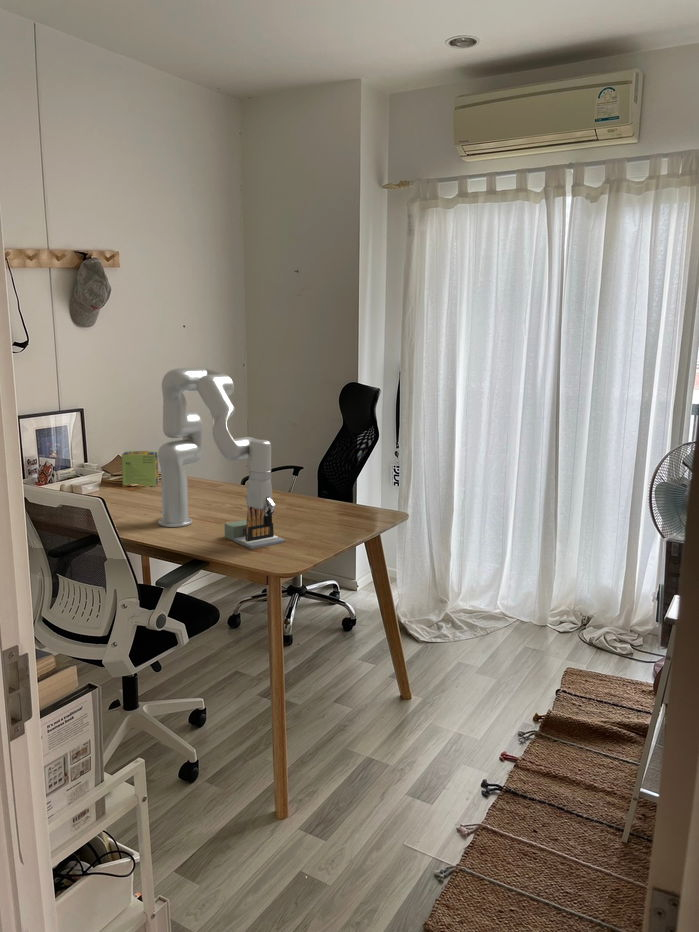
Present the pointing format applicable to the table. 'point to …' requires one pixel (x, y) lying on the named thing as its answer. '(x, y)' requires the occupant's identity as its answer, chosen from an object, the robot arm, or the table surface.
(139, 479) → the protein box
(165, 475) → the robot arm
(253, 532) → the ammunition clip
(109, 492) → the table surface
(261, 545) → the plate with green block
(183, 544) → the table surface
